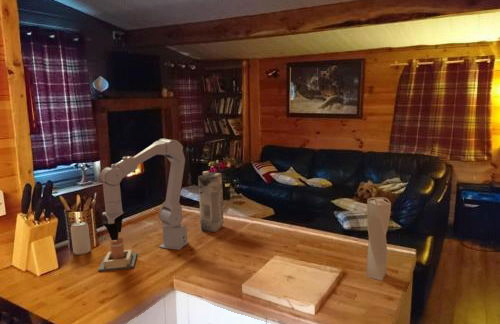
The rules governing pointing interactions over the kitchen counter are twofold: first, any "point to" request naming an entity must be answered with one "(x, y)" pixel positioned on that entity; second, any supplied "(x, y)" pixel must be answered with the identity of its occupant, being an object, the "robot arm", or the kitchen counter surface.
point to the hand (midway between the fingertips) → (116, 235)
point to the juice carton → (210, 201)
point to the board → (118, 261)
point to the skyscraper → (377, 237)
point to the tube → (117, 249)
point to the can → (80, 238)
